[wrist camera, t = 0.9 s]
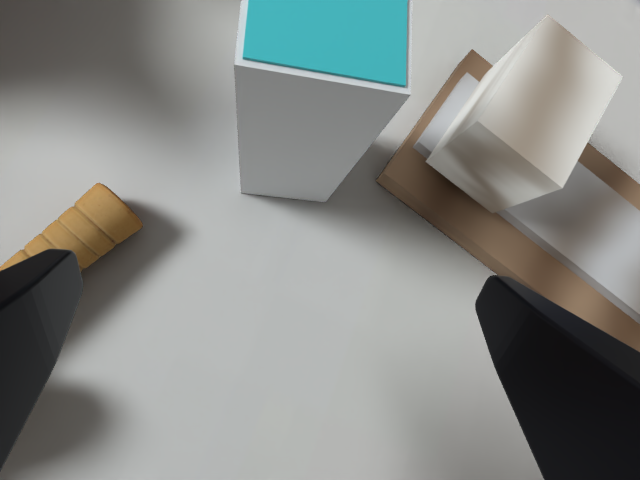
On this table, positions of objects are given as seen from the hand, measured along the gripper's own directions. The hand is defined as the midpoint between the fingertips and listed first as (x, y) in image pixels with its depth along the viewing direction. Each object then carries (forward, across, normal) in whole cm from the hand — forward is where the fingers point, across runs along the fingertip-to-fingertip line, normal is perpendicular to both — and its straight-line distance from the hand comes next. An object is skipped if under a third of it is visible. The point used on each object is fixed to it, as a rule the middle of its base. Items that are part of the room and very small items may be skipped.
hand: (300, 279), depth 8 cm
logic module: (+15, -1, +3) cm, 15 cm away
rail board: (+13, -20, +5) cm, 24 cm away
